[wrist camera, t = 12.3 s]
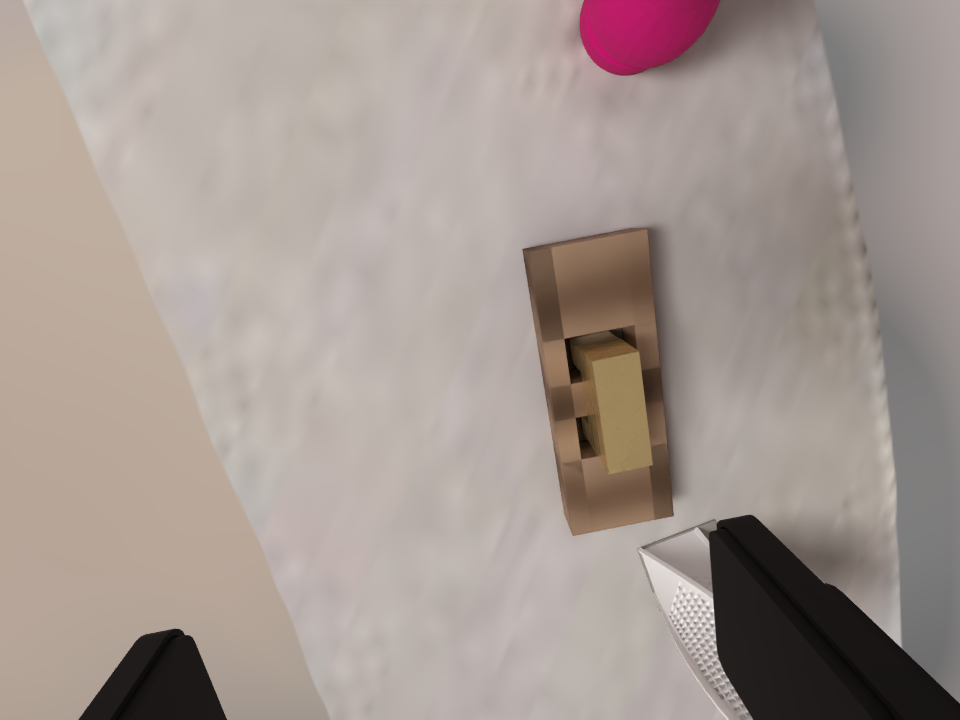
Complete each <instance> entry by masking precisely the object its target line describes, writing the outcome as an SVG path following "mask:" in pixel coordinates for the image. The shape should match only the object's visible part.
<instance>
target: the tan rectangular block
mask: <svg viewBox="0 0 960 720" xmlns="http://www.w3.org/2000/svg"><path fill="white" fill-rule="evenodd" d="M569 345H570V351H571V357H572V362H573V363H574V364H575V366H576V367H577V368H578V369H579V370H580V371H581V377H582V383H583V390H584V396H585V402H586V409H587V416H582V417H581V420H582V426H583V433H584V435H585V436H586V438H587V440H588V441H589V443H590V444H591V446H592V448H593V450H594V452H595V453H596V455H597V456H598V458H599V460H600V461H601V463H602V464H603V466H604V468H605V469H606V471H607V472H608V474H613V473H618V472H623V471H628V470H632V469H637V468H642V467H646V466H651V465H653V462H652V454H651V446H650V437H649V429H648V421H647V413H646V405H645V396H644V388H643V380H642V372H641V364H640V355H639V351H638V350H636V349H635V348H633V347H632V346H630V345H629V344H628V343H626V342H625V341H623V340H622V339H620V338H619V337H618V338H617V337H616V336H614V335H613V334H612V333H610V332H609V331H605V332H600V333H595V334H590V335H586V336H581V337H576V338H571V339H569Z"/></svg>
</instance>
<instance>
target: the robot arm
mask: <svg viewBox="0 0 960 720" xmlns="http://www.w3.org/2000/svg"><path fill="white" fill-rule="evenodd" d="M709 549H710V563H711V577H712V590H713V604H714V618H715V632H716V645H717V654H718V657H719V661H720V663H721V666H722V668H723V671H724V672H725V674H726V676H727V678H728V679H729V681H730V683H731V684H732V686H733V687H734V689H735V691H736V692H737V694H738V696H739V697H740V699H741V701H742V702H743V704H744V705H745V707H746V709H747V710H748V712H749V714H750V715H751V717H752V719H753V720H960V704H959V702H957V701H956V700H955V699H954V698H953V697H952V696H951V695H950V694H949V693H948V692H947V691H946V690H945V689H944V688H943V687H942V686H941V685H939V684H938V683H937V682H936V681H935V680H934V679H933V678H932V677H931V676H930V675H929V674H928V673H927V672H926V671H925V670H924V669H923V668H922V667H921V666H920V665H918V664H917V663H916V662H915V661H914V660H913V659H912V658H911V657H910V656H909V655H908V654H907V653H906V652H905V651H904V650H903V649H902V648H901V647H899V646H898V645H897V644H896V643H895V642H894V641H893V640H892V639H891V638H890V637H889V636H888V635H887V634H886V633H885V632H884V631H883V630H882V629H881V628H879V627H878V626H877V625H876V624H875V623H874V622H873V621H872V620H871V619H870V618H869V617H868V616H867V615H866V614H865V613H864V612H863V611H862V610H861V609H859V608H858V607H857V606H856V605H855V604H854V603H853V602H852V601H851V600H850V599H849V598H848V597H847V596H846V595H845V594H844V593H843V592H841V591H840V590H839V589H837V588H836V587H835V586H833V585H830V584H827V583H826V584H824V583H823V582H822V581H821V580H820V579H819V578H818V577H817V576H816V575H815V574H814V573H813V572H812V571H810V570H809V569H808V568H807V567H806V566H805V565H804V564H803V563H802V562H801V561H800V560H799V559H798V558H797V557H796V556H795V555H794V554H793V553H792V552H791V551H790V550H789V549H788V548H787V547H786V546H785V545H784V544H783V543H782V542H781V541H780V540H779V539H778V538H777V537H776V536H774V535H773V534H772V533H771V532H770V531H769V530H768V529H767V528H766V527H765V526H764V525H763V524H762V523H761V522H760V521H759V520H758V519H757V518H756V517H754V516H753V515H745V516H740V517H735V518H730V519H725V520H720V521H719V522H718V523H717V530H714V531H711V532H710V533H709ZM79 720H227V719H226V717H225V714H224V712H223V709H222V707H221V704H220V702H219V699H218V697H217V694H216V692H215V690H214V687H213V685H212V682H211V680H210V677H209V675H208V673H207V670H206V668H205V666H204V663H203V660H202V658H201V656H200V653H199V651H198V648H197V646H196V643H195V641H194V640H193V638H192V637H191V636H189V635H186V636H185V635H184V633H183V631H181V630H180V629H171V630H166V631H161V632H156V633H151V634H146V635H143V636H141V637H140V638H139V639H138V640H137V641H136V642H135V643H134V645H133V646H132V647H131V649H130V650H129V651H128V653H127V654H126V656H125V657H124V658H123V660H122V661H121V662H120V664H119V665H118V667H117V668H116V669H115V670H114V672H113V673H112V675H111V676H110V677H109V679H108V680H107V682H106V683H105V684H104V686H103V687H102V688H101V690H100V691H99V692H98V694H97V695H96V696H95V698H94V699H93V701H92V702H91V703H90V705H89V706H88V707H87V709H86V710H85V711H84V713H83V714H82V716H81V717H80V719H79Z"/></svg>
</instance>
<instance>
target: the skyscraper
mask: <svg viewBox="0 0 960 720" xmlns="http://www.w3.org/2000/svg"><path fill="white" fill-rule="evenodd" d="M714 530H717V525H716V522H715V520H714V519H713V520H711V521H708V522H706V523H703V524H700V525H698V526H695V527H693V528H690V529H687V530H685V531H682V532H679V533H677V534H674V535H672V536H669V537H666V538H664V539H661V540H659V541H656V542H653V543H651V544H648V545H646V546H643V547H640V548H638V549H637V550H638V553H639V555H640V558H641V561H642V563H643V566H644V569H645V572H646V574H647V577H648V580H649V582H650V585H651V588H652V591H653V594H654V596H655V599H656V601H657V604H658V607H659V610H660V612H661V614H662V616H663V618H664V621H665V623H666V625H667V627H668V630H669V632H670V634H671V636H672V638H673V640H674V642H675V644H676V646H677V648H678V649H679V651H680V653H681V655H682V656H683V658H684V660H685V662H686V664H687V665H688V667H689V668H690V670H691V671H692V673H693V675H694V676H695V678H696V679H697V681H698V682H699V684H700V685H701V686H702V688H703V689H704V691H705V692H706V694H707V695H708V696H709V698H710V699H711V700H712V702H713V703H714V704H715V705H716V707H717V708H718V709H719V711H720V712H721V713H722V714H723V716H724V717H725V718H726V719H727V720H753V719H752V717H751V715H750V714H749V712H748V710H747V709H746V707H745V705H744V704H743V702H742V701H741V699H740V697H739V696H738V694H737V692H736V691H735V689H734V687H733V686H732V684H731V683H730V681H729V679H728V678H727V676H726V674H725V672H724V671H723V668H722V666H721V663H720V661H719V657H718V654H717V645H716V632H715V618H714V604H713V590H712V577H711V563H710V549H709V533H710V532H711V531H714Z"/></svg>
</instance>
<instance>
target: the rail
mask: <svg viewBox="0 0 960 720" xmlns="http://www.w3.org/2000/svg"><path fill="white" fill-rule="evenodd" d="M523 255H524V262H525V268H526V274H527V281H528V287H529V293H530V300H531V306H532V312H533V319H534V325H535V331H536V338H537V344H538V350H539V357H540V363H541V369H542V376H543V382H544V388H545V395H546V401H547V407H548V413H549V420H550V426H551V432H552V439H553V445H554V451H555V458H556V464H557V470H558V477H559V483H560V489H561V496H562V502H563V508H564V515H565V517H566V520H567V522H568V525H569V527H570V530H571V532H572V535H573V536H575V535H580V534H585V533H591V532H596V531H601V530H606V529H611V528H616V527H621V526H626V525H631V524H636V523H641V522H646V521H651V520H656V519H661V518H666V517H671V516H674V513H673V502H672V491H671V481H670V470H669V459H668V448H667V438H666V427H665V416H664V405H663V394H662V384H661V373H660V362H659V351H658V340H657V330H656V319H655V308H654V297H653V287H652V276H651V265H650V254H649V243H648V233H647V229H637V228H630V229H625V230H620V231H614V232H609V233H604V234H599V235H594V236H588V237H583V238H578V239H573V240H568V241H562V242H557V243H552V244H547V245H542V246H536V247H531V248H526V249H523ZM617 328H622V333H623V341H625V342H626V343H628V344H629V345H630V346H632V347H633V348H635V349H636V350H638V351H639V355H640V364H641V372H642V380H643V388H644V396H645V405H646V413H647V421H648V429H649V437H650V446H651V454H652V462H653V465H651V466H646V467H642V468H637V469H632V470H628V471H623V472H618V473H613V474H608V472H607V471H606V469H605V468H604V466H603V464H602V463H601V461H600V460H599V458H598V456H597V455H596V453H595V452H594V450H593V448H592V446H591V444H590V443H589V441H588V440H584V441H579V439H578V432H577V425H576V418H577V417H582V416H587V409H586V402H585V396H584V390H583V383H582V377H581V371H580V370H579V369H576V370H571V371H569V369H568V362H567V355H566V348H565V341H564V339H565V338H570V337H575V336H581V335H586V334H591V333H596V332H601V331H606V330H611V329H617Z"/></svg>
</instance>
